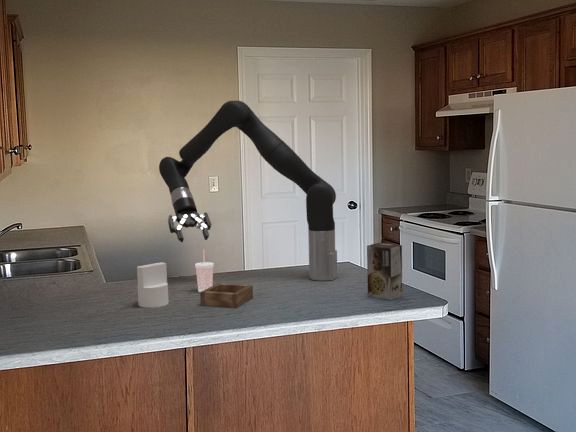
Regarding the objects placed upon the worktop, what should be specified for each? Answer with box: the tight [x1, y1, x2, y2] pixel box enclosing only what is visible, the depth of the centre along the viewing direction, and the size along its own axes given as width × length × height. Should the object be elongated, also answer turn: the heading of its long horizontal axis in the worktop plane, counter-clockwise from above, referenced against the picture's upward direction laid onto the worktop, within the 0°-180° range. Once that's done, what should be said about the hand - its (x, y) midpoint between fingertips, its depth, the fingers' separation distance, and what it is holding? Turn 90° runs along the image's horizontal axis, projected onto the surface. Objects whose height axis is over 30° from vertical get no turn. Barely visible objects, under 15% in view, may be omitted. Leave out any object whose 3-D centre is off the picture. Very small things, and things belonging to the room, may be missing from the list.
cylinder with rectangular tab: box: [136, 261, 169, 308], centre depth 200 cm, size 9×9×12 cm
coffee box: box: [366, 242, 403, 301], centre depth 202 cm, size 9×6×16 cm
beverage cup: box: [194, 248, 215, 293], centre depth 215 cm, size 6×6×14 cm
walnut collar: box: [199, 282, 254, 309], centre depth 201 cm, size 12×12×4 cm
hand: (194, 239), depth 223 cm, fingers open, 8 cm apart
